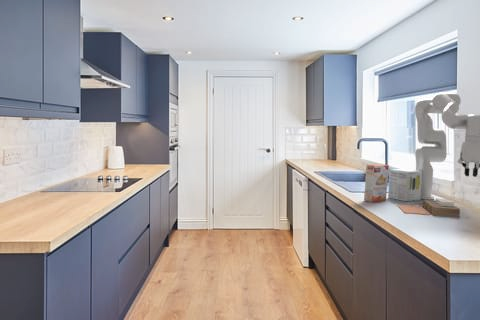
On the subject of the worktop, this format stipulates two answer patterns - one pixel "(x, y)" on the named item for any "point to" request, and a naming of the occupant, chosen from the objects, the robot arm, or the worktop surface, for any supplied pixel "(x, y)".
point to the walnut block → (440, 209)
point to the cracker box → (376, 182)
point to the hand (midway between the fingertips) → (470, 176)
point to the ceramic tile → (444, 202)
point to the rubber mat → (413, 209)
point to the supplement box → (405, 184)
